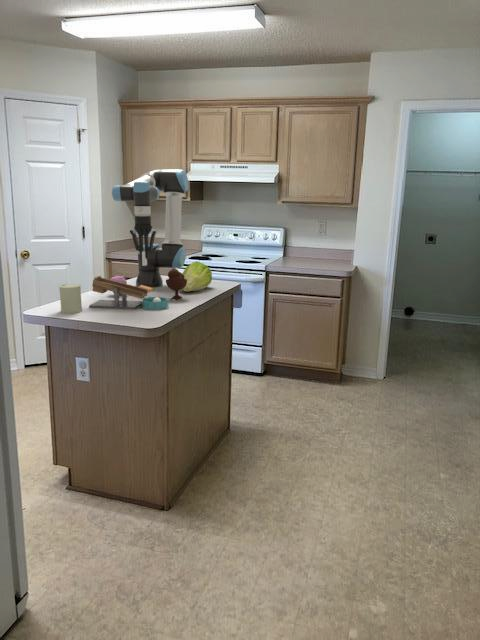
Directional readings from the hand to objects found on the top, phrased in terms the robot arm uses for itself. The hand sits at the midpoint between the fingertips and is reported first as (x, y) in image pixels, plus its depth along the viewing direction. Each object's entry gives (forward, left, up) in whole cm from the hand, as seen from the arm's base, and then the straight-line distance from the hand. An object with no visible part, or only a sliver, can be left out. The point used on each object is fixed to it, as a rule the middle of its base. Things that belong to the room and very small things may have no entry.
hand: (144, 265), depth 246 cm
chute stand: (+11, -11, -18) cm, 23 cm away
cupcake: (-13, -19, -18) cm, 29 cm away
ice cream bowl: (-9, +13, -18) cm, 24 cm away
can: (+25, -27, -18) cm, 41 cm away
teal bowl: (+11, +8, -18) cm, 22 cm away
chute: (+6, -10, -13) cm, 18 cm away
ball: (+11, +9, -15) cm, 21 cm away
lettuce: (-33, +17, -18) cm, 41 cm away
